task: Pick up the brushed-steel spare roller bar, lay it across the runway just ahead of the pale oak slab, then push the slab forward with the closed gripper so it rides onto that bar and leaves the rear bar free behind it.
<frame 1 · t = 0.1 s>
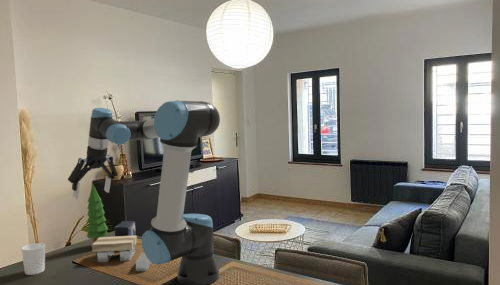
hand: (91, 194, 157), 28 cm above the table, tool tilted 20°, fingers open, 13 cm apart
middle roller: (106, 257, 160), on the table
small box: (126, 246, 175), on the table
oak slab: (115, 243, 160), point 6 cm above the table, slide at 0.0 cm
spare roller: (144, 266, 150), on the table
decorative tree: (98, 246, 176), on the table
white cup: (35, 272, 147), on the table
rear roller: (128, 256, 161), on the table
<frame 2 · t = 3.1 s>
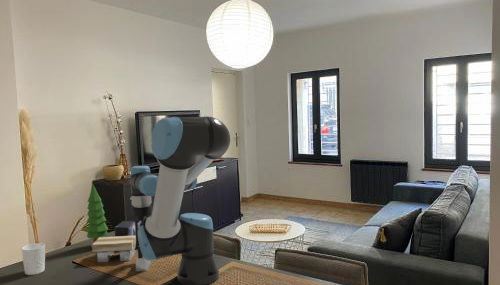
hand: (143, 260, 150), 2 cm above the table, tool pointing down, fingers closed on spare roller, 10 cm apart
spare roller: (144, 266, 150), on the table, touching gripper
everything else where it was.
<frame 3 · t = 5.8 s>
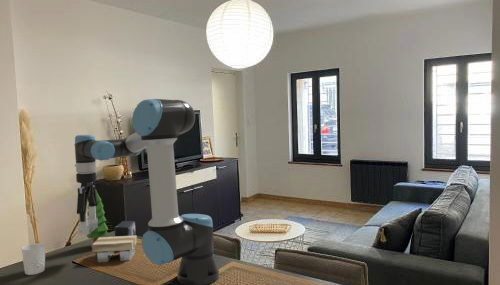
hand: (88, 225, 157), 15 cm above the table, tool pointing down, fingers closed on spare roller, 10 cm apart
spare roller: (88, 230, 157), point 13 cm above the table, touching gripper
everything else where it was.
when the fingers open (3 cm above the table, at t = 8.8 s): spare roller drops 1 cm, on the table.
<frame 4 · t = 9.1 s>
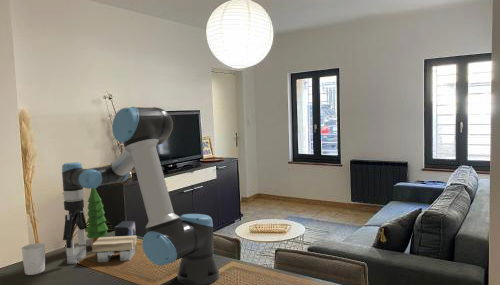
hand: (76, 249, 159), 4 cm above the table, tool pointing down, fingers open, 13 cm apart
spare roller: (77, 259, 159), on the table
everything else where it was.
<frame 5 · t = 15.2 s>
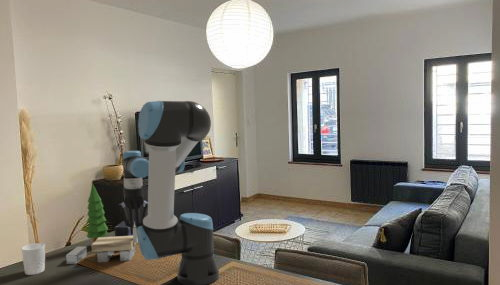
hand: (135, 241, 161), 6 cm above the table, tool pointing down, fingers closed
oak slab: (114, 243, 160), point 6 cm above the table, slide at 0.2 cm, touching gripper
everything else where it was.
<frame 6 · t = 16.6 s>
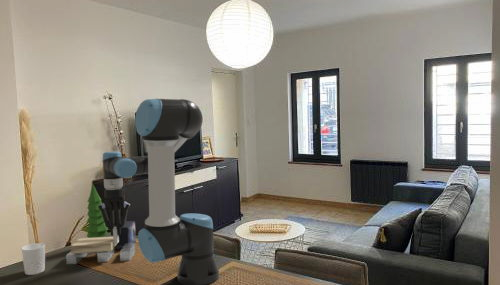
hand: (116, 242, 161), 6 cm above the table, tool pointing down, fingers closed
oak slab: (95, 244, 160), point 6 cm above the table, slide at 8.4 cm, touching gripper
everything else where it was.
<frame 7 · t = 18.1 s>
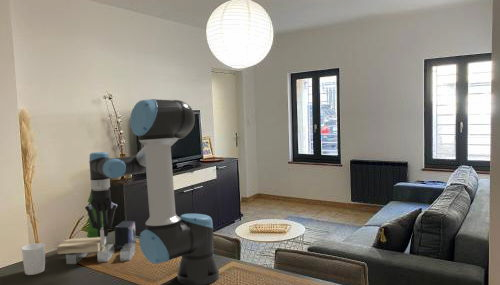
hand: (103, 243, 160), 6 cm above the table, tool pointing down, fingers closed
oak slab: (82, 245, 159), point 6 cm above the table, slide at 13.6 cm, touching gripper
everything else where it was.
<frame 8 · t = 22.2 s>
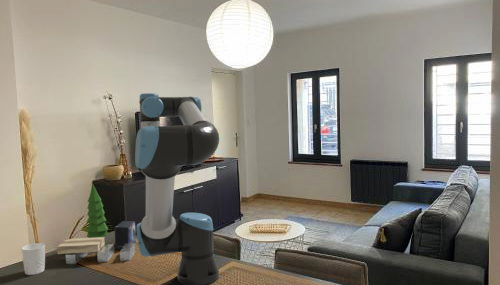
hand: (153, 190, 153), 29 cm above the table, tool pointing down, fingers closed
oak slab: (81, 245, 159), point 6 cm above the table, slide at 13.7 cm
everything else where it was.
at the end: oak slab slide at 13.7 cm; spare roller inside the target area on the oak slab (2.2 cm from its centre), point 0.0 cm above the oak slab's base; spare roller tilted 0° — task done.
